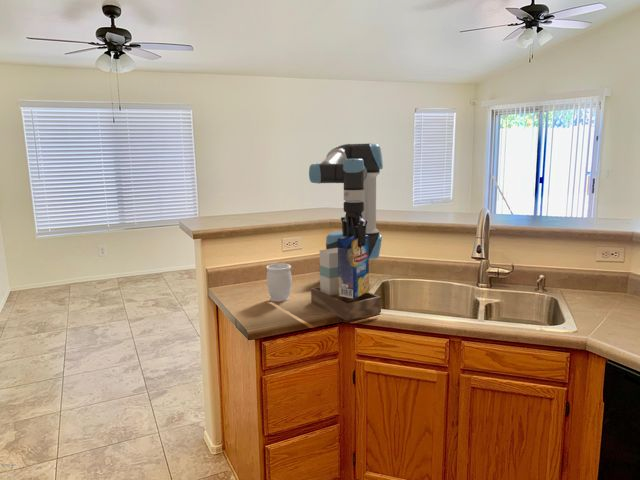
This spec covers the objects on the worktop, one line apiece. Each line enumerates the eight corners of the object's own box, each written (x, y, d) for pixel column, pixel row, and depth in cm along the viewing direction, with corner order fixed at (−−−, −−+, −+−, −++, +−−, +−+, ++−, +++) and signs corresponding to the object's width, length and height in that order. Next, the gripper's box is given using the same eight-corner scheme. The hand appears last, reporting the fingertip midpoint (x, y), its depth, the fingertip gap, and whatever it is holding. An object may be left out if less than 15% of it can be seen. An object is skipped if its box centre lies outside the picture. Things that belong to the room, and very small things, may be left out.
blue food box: (369, 291, 180) (368, 235, 175) (354, 298, 171) (353, 240, 167) (354, 288, 184) (353, 233, 179) (338, 295, 175) (337, 238, 171)
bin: (343, 297, 199) (343, 281, 197) (380, 314, 178) (381, 296, 176) (311, 304, 190) (311, 288, 189) (346, 323, 169) (346, 304, 168)
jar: (288, 305, 190) (287, 269, 187) (264, 303, 192) (262, 268, 190) (294, 297, 201) (293, 263, 198) (272, 296, 203) (270, 262, 200)
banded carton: (342, 298, 195) (342, 246, 190) (352, 302, 189) (352, 249, 185) (320, 303, 189) (319, 250, 185) (329, 307, 183) (329, 253, 179)
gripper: (332, 200, 176) (333, 260, 180) (358, 203, 162) (359, 269, 166) (348, 198, 180) (349, 257, 184) (375, 202, 166) (375, 266, 170)
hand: (353, 263), depth 175 cm, fingers closed on blue food box, 3 cm apart
